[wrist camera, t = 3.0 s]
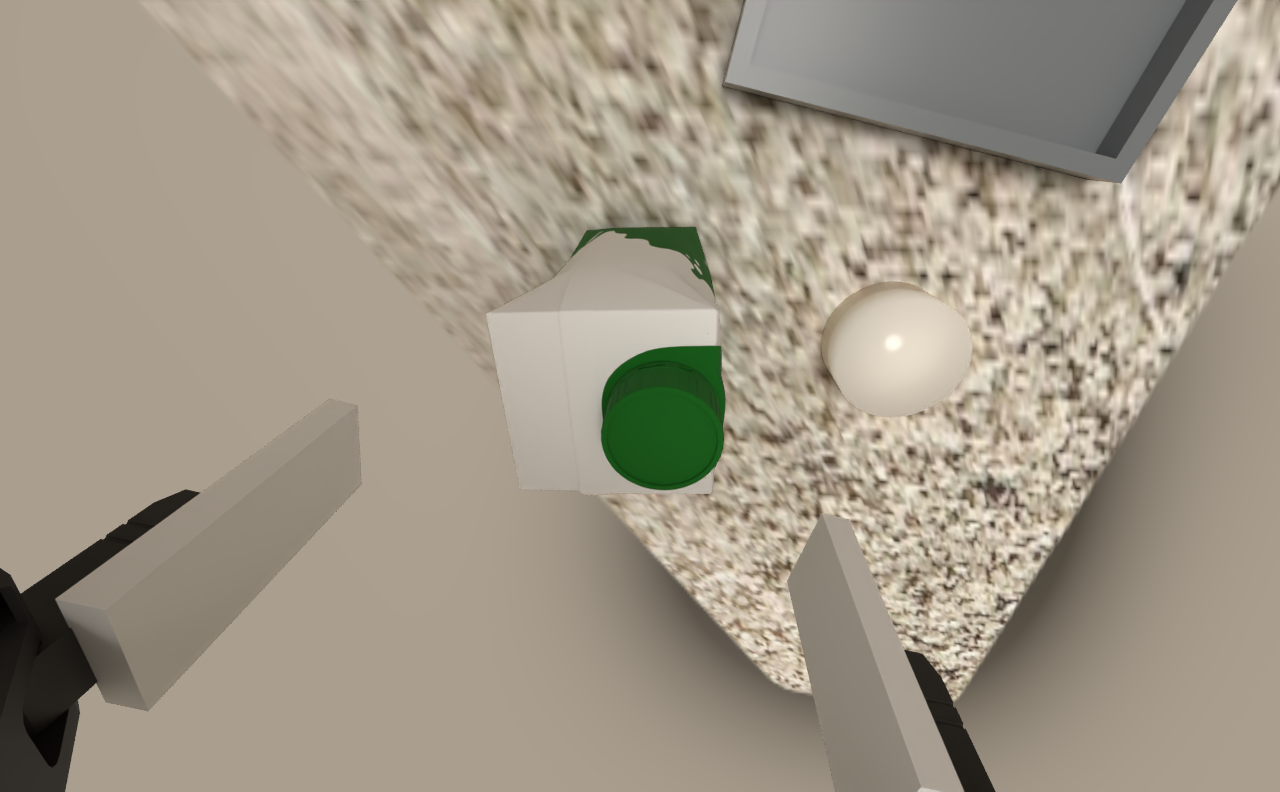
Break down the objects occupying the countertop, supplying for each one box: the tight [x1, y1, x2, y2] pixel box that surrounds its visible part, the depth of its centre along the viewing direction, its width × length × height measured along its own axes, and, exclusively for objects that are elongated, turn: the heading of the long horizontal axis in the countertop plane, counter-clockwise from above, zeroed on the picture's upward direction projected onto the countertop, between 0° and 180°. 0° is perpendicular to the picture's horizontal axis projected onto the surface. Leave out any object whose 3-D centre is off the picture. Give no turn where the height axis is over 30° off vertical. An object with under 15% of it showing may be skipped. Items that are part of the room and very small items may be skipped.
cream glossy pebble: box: [821, 282, 973, 417], centre depth 33 cm, size 8×8×4 cm
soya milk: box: [486, 227, 725, 495], centre depth 25 cm, size 9×9×20 cm
